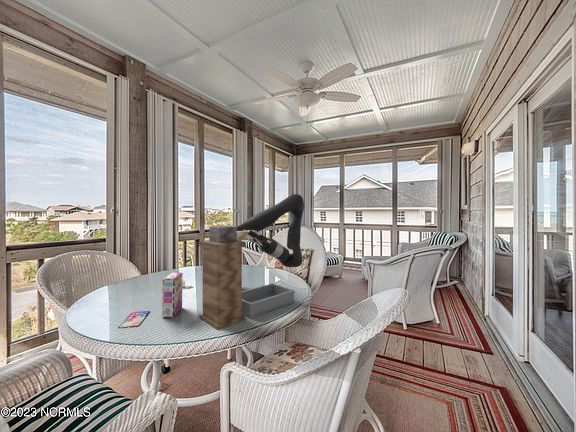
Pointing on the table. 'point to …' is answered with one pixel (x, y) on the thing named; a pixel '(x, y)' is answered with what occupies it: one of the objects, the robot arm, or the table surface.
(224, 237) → the mallet
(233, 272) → the walnut stand
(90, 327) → the table surface
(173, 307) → the candy bar box
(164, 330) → the table surface
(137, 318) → the smartphone
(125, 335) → the table surface
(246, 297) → the charcoal tray
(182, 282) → the teacup and saucer
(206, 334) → the table surface
